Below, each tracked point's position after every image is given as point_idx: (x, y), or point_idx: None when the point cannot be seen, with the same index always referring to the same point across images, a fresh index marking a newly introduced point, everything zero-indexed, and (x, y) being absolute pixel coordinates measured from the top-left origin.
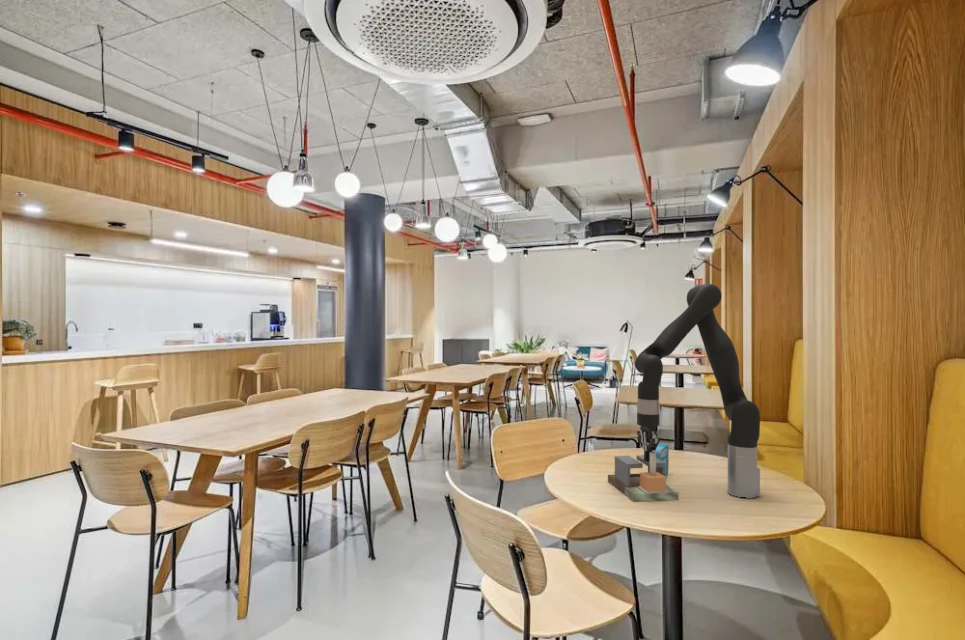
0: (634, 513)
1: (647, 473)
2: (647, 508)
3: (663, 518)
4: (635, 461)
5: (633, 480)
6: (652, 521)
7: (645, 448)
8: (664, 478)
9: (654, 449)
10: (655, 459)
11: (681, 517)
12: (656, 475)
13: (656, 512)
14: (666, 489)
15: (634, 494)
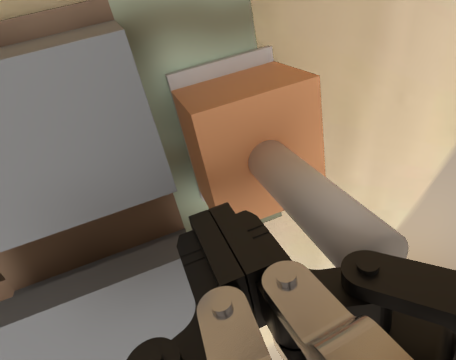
0: (371, 201)
1: (238, 190)
2: (335, 156)
3: (423, 115)
4: (134, 300)
5: None
6: (434, 155)
7: (294, 350)
8: (316, 86)
9: (389, 268)
10: (357, 201)
11: (430, 42)
12: (280, 137)
13: (373, 129)
14: (199, 36)
15: (280, 212)
